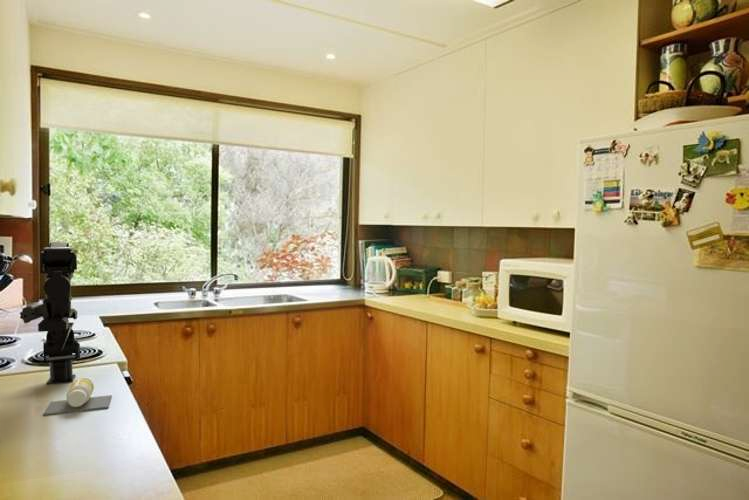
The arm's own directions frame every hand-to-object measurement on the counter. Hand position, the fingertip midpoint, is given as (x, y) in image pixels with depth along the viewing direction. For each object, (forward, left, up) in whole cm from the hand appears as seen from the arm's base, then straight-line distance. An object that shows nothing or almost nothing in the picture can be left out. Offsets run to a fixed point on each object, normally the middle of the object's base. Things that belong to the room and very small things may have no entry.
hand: (59, 351), depth 136 cm
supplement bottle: (+6, +6, -9) cm, 12 cm away
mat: (+11, +6, -12) cm, 18 cm away
